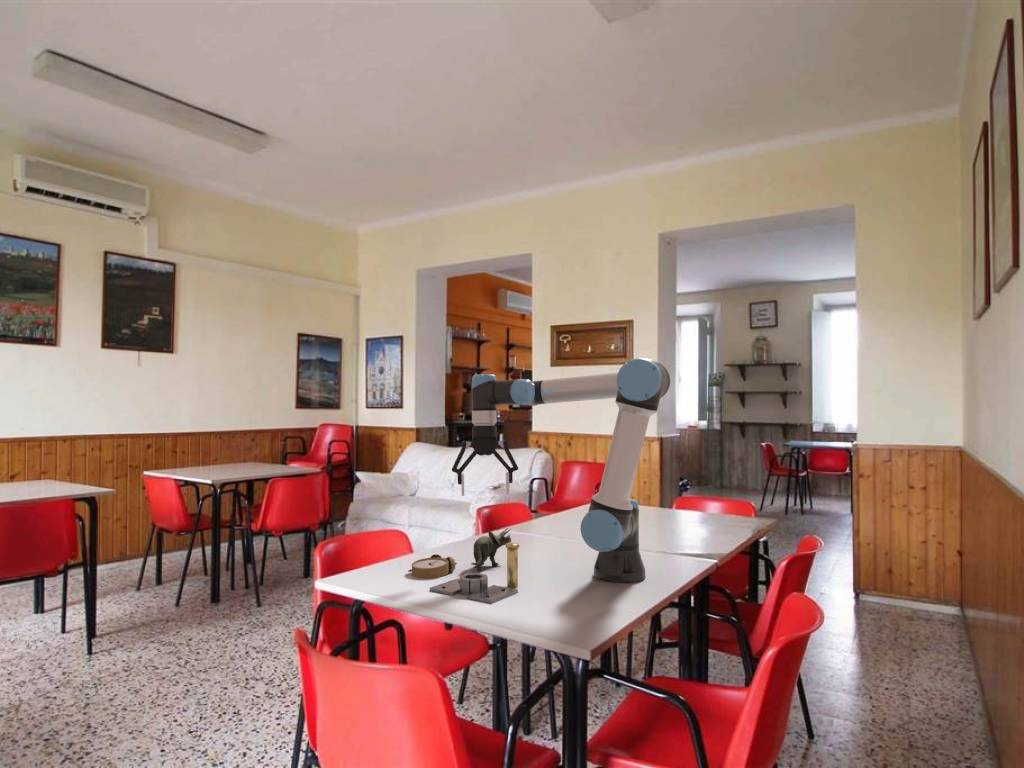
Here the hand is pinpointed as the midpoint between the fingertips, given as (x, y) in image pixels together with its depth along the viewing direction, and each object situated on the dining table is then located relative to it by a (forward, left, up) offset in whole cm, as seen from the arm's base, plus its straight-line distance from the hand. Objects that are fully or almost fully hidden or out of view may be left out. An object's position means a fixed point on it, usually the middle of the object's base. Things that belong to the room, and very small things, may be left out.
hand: (485, 494), depth 192 cm
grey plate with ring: (-9, +17, -24) cm, 31 cm away
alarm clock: (+14, +7, -24) cm, 29 cm away
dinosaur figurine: (+5, -6, -24) cm, 25 cm away
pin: (-15, +7, -24) cm, 29 cm away
